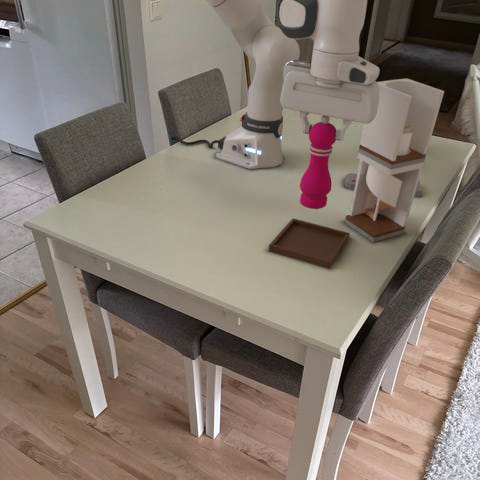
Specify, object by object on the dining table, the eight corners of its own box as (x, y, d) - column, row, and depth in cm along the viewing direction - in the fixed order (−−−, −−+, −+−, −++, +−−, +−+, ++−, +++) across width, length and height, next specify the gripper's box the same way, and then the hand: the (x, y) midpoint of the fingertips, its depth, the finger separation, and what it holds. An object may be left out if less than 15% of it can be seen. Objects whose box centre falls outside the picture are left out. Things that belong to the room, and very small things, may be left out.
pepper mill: (332, 200, 116) (347, 113, 103) (323, 213, 111) (337, 123, 98) (303, 193, 118) (314, 107, 106) (293, 205, 113) (303, 117, 101)
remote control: (420, 197, 146) (422, 190, 144) (344, 188, 148) (345, 181, 147) (417, 186, 152) (419, 179, 150) (344, 177, 154) (346, 171, 153)
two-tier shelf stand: (344, 222, 132) (372, 82, 109) (374, 214, 136) (406, 78, 114) (372, 242, 124) (408, 96, 102) (403, 233, 128) (444, 91, 106)
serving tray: (268, 251, 119) (269, 244, 118) (292, 224, 130) (292, 218, 129) (329, 268, 114) (330, 262, 113) (348, 239, 125) (349, 232, 124)
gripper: (278, 61, 97) (272, 131, 106) (380, 76, 91) (364, 150, 99) (290, 55, 101) (284, 123, 110) (387, 69, 95) (372, 141, 104)
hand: (323, 136), depth 105 cm, fingers closed on pepper mill, 6 cm apart
